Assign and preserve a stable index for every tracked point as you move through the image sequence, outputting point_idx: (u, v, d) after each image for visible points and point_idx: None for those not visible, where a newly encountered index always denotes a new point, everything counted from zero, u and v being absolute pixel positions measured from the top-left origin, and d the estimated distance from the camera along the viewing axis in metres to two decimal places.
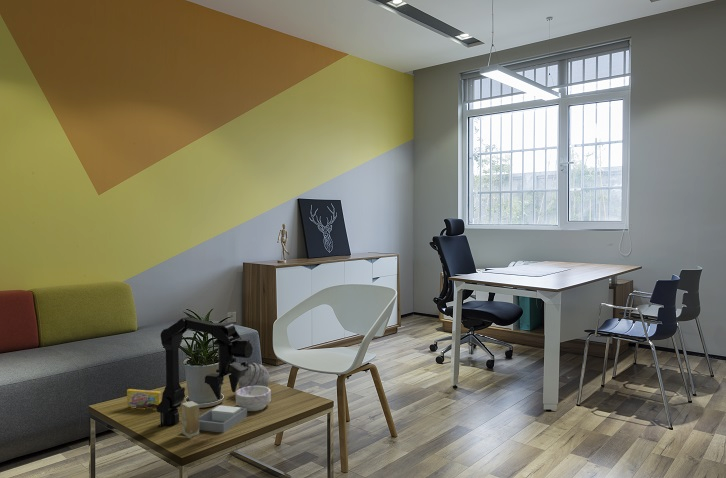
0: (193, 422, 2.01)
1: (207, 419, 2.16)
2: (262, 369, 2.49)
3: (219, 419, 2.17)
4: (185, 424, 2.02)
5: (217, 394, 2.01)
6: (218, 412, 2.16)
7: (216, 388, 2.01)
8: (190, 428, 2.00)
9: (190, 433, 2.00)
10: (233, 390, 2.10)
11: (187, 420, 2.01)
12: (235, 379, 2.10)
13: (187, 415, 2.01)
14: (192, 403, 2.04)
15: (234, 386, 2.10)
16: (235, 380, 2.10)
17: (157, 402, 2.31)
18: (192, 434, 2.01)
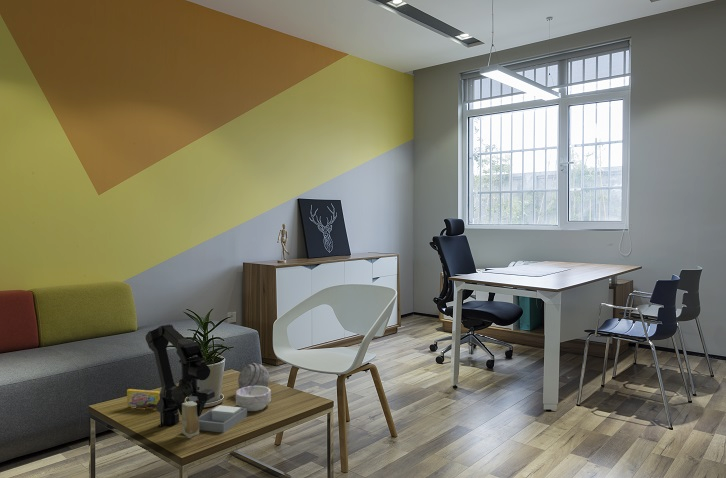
0: (193, 422, 2.01)
1: (207, 419, 2.16)
2: (262, 369, 2.49)
3: (219, 419, 2.17)
4: (185, 424, 2.02)
5: None
6: (218, 412, 2.16)
7: None
8: (190, 428, 2.00)
9: (190, 433, 2.00)
10: None
11: (187, 420, 2.01)
12: None
13: (187, 415, 2.01)
14: (192, 403, 2.04)
15: None
16: None
17: (157, 402, 2.31)
18: (192, 434, 2.01)
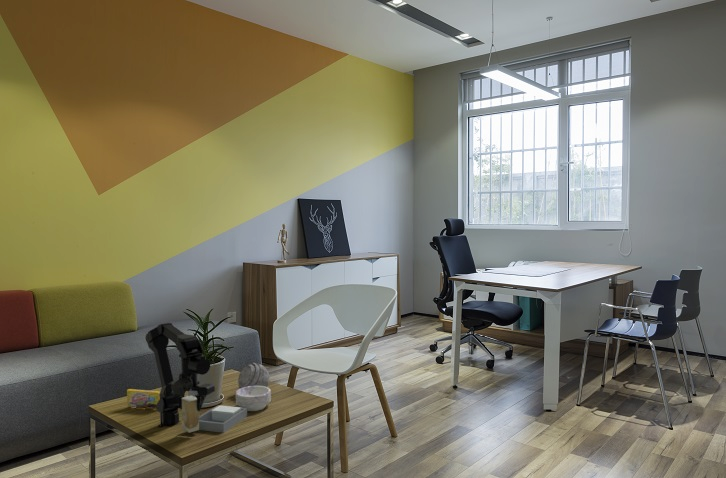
0: (193, 416, 2.01)
1: (207, 419, 2.16)
2: (262, 369, 2.49)
3: (219, 419, 2.17)
4: (185, 418, 2.02)
5: None
6: (218, 412, 2.16)
7: None
8: (189, 422, 2.00)
9: (189, 427, 2.00)
10: None
11: (187, 414, 2.01)
12: None
13: (187, 409, 2.01)
14: (192, 397, 2.04)
15: None
16: None
17: (157, 402, 2.31)
18: (192, 428, 2.01)
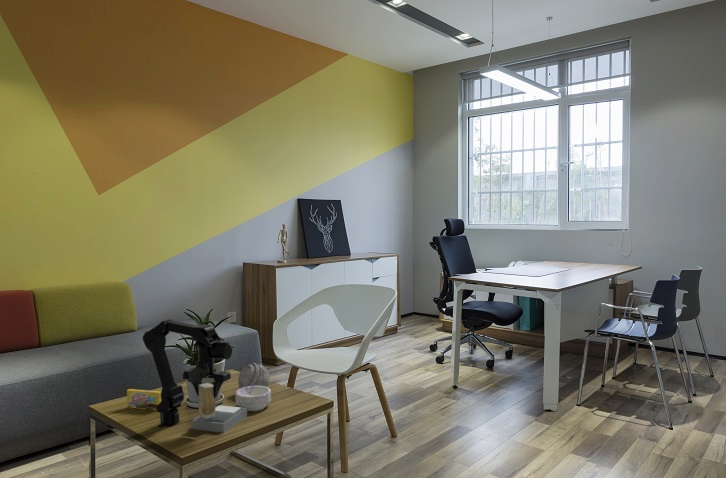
0: (209, 403, 2.06)
1: (207, 419, 2.16)
2: (262, 369, 2.49)
3: (219, 419, 2.17)
4: (201, 405, 2.07)
5: None
6: (218, 412, 2.16)
7: None
8: (206, 409, 2.05)
9: (206, 414, 2.05)
10: None
11: (204, 401, 2.05)
12: None
13: (204, 396, 2.05)
14: (208, 385, 2.08)
15: None
16: None
17: (157, 402, 2.31)
18: (208, 415, 2.06)
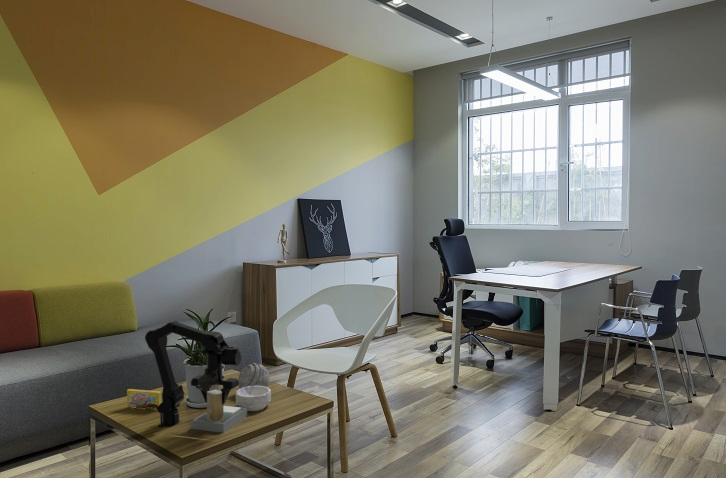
0: (218, 409, 2.09)
1: None
2: (262, 369, 2.49)
3: None
4: (210, 411, 2.10)
5: None
6: None
7: None
8: (215, 415, 2.08)
9: (215, 420, 2.08)
10: None
11: (212, 407, 2.08)
12: None
13: (212, 403, 2.08)
14: (216, 391, 2.11)
15: None
16: None
17: (157, 402, 2.31)
18: (217, 421, 2.09)
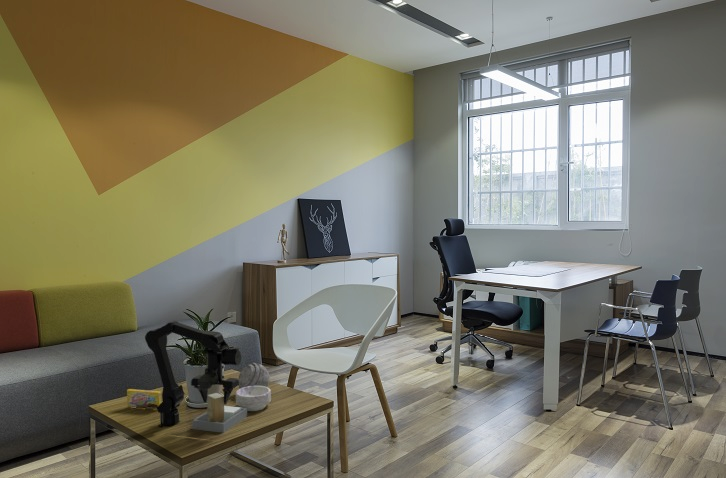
0: (218, 413, 2.09)
1: None
2: (262, 369, 2.49)
3: None
4: (210, 415, 2.10)
5: None
6: None
7: None
8: (215, 419, 2.08)
9: None
10: None
11: (213, 411, 2.08)
12: None
13: (213, 406, 2.08)
14: (217, 395, 2.11)
15: None
16: None
17: (157, 402, 2.31)
18: None
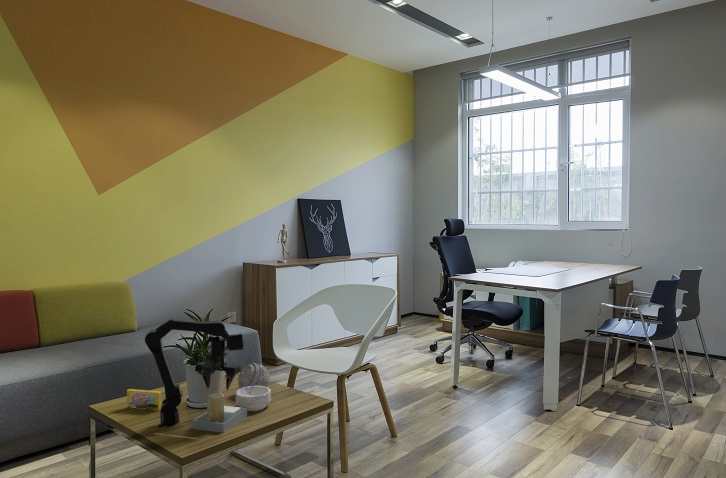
0: (218, 413, 2.09)
1: None
2: (262, 369, 2.49)
3: None
4: (210, 415, 2.10)
5: None
6: None
7: None
8: (215, 419, 2.08)
9: None
10: None
11: (213, 411, 2.08)
12: None
13: (213, 406, 2.08)
14: (217, 395, 2.11)
15: None
16: None
17: (157, 402, 2.31)
18: None
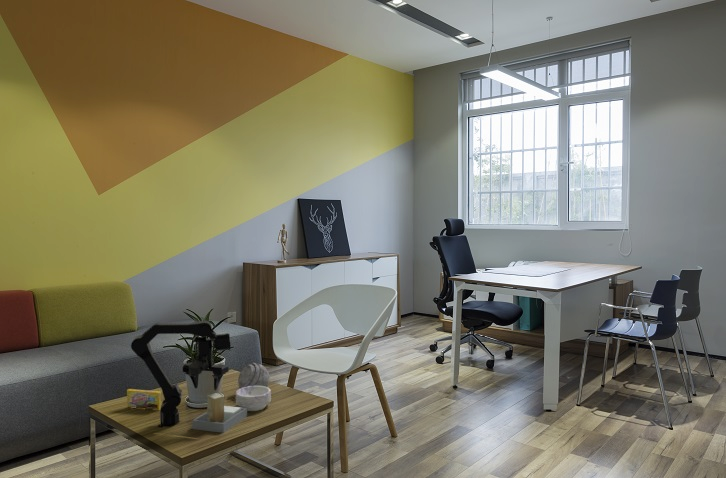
0: (218, 413, 2.09)
1: None
2: (262, 369, 2.49)
3: None
4: (210, 415, 2.10)
5: None
6: None
7: None
8: (215, 419, 2.08)
9: None
10: None
11: (213, 411, 2.08)
12: None
13: (213, 406, 2.08)
14: (217, 395, 2.11)
15: None
16: None
17: (157, 402, 2.31)
18: None
